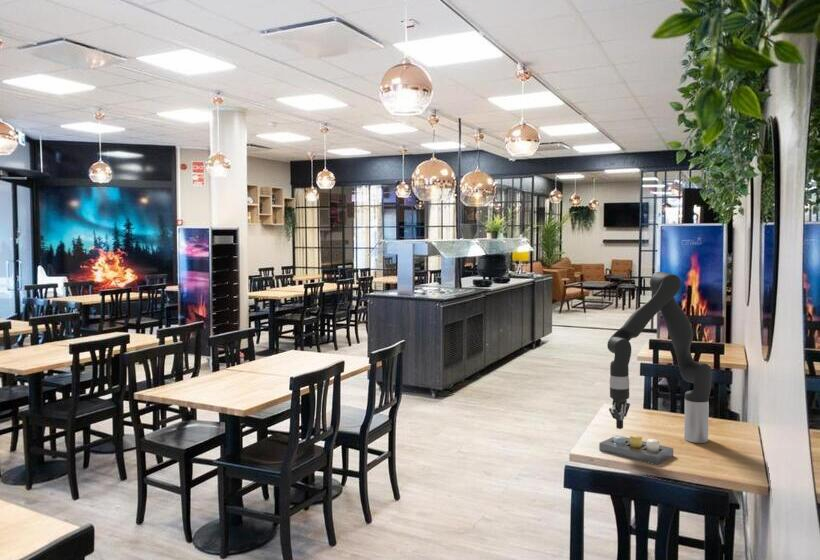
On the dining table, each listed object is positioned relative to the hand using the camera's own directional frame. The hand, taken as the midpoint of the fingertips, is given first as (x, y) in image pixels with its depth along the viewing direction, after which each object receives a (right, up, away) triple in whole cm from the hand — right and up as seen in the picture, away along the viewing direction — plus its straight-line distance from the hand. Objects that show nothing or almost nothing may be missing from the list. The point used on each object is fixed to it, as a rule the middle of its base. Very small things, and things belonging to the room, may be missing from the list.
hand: (619, 428), depth 258 cm
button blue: (0, -8, 0) cm, 8 cm away
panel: (+5, -9, -5) cm, 11 cm away
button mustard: (+5, -6, -5) cm, 9 cm away
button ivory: (+10, -7, -10) cm, 15 cm away
